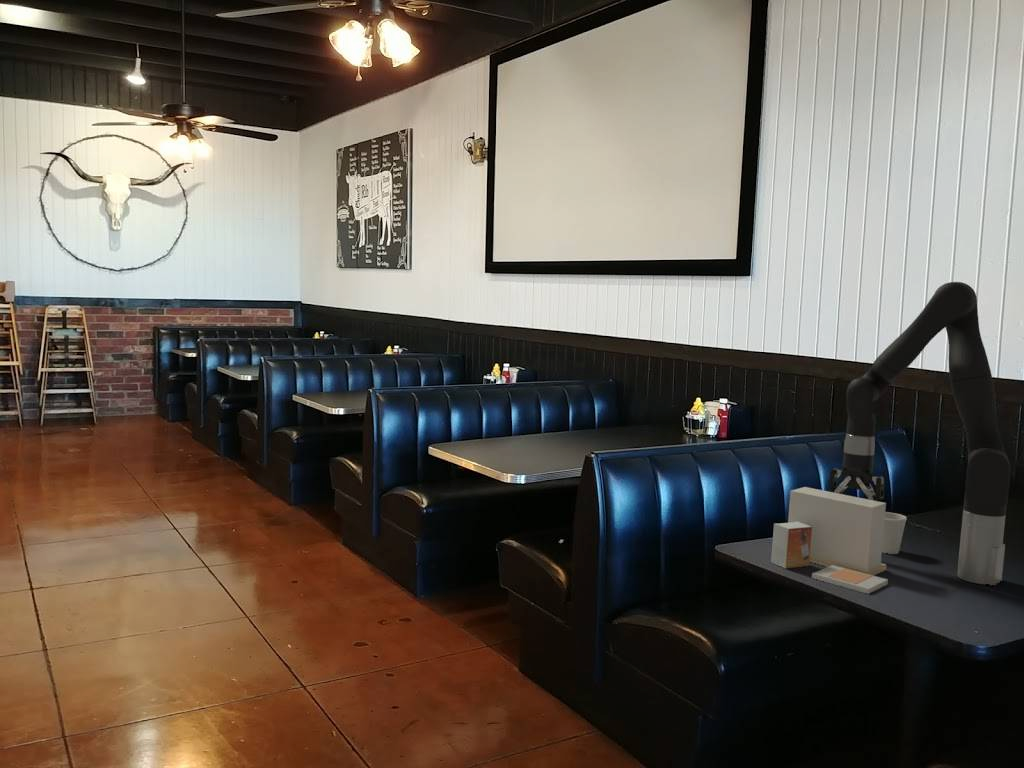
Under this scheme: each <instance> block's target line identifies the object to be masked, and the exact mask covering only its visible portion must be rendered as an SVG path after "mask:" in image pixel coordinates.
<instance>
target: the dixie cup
mask: <svg viewBox="0 0 1024 768" xmlns="http://www.w3.org/2000/svg"><path fill="white" fill-rule="evenodd" d="M907 520H908V518H907V516H906V515H903V514H901V513H894V512H889V511H885V520H884V532H883V544H882V552H883V553H882V554H886V553H888V554H887V555H897V554H899V552H900V548H901V543H902V539H903V535H904V530H905V526H906V521H907Z"/></svg>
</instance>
